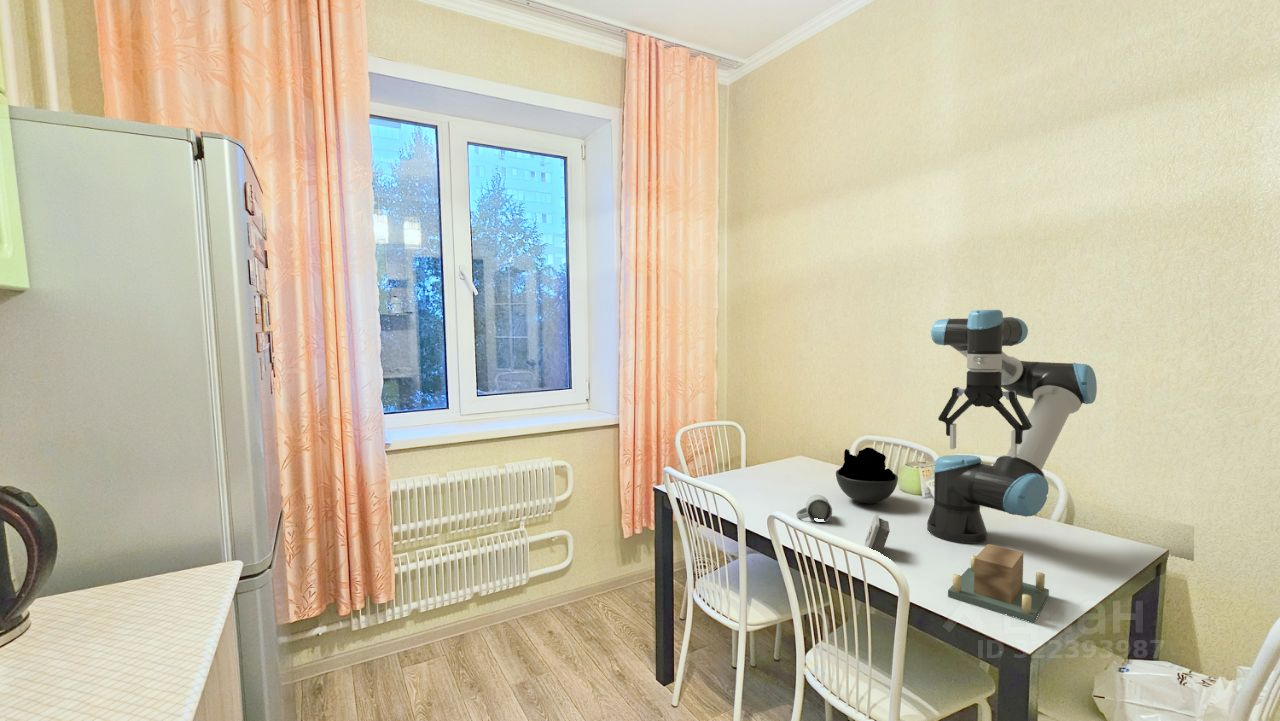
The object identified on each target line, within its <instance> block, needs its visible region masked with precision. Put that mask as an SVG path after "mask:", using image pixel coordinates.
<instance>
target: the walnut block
mask: <svg viewBox="0 0 1280 721" xmlns="http://www.w3.org/2000/svg"><path fill="white" fill-rule="evenodd" d="M975 556H976V557H975V565H974V593H976V594H979V595H983V596H986V597H989V598H993V599H996V600H999V601H1003V602H1006V603H1009V604H1011V603H1012V602H1013V600H1014V599H1015V597H1016V596H1017V594H1018V593H1019V591H1020V590H1021V588H1022V587H1023V582H1024V581H1023V580H1024V579H1023V578H1024V552H1023V551H1019V550H1015V549H1011V548H1007V547H1002V546H999V545H994V544H990V543H987V544H986V545H985V546H984V548H983V549H982V550H981V551H980V552H979V553H978V554H977V555H975Z"/></svg>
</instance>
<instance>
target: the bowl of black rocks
mask: <svg viewBox="0 0 1280 721" xmlns="http://www.w3.org/2000/svg"><path fill="white" fill-rule="evenodd" d="M843 454H844V455H843V465H842V466H841V467H840V468H839V469H837V470H836V471H835V477H836V481H837V483H838V486H839V487H840V490H842V492H843V493H844V494H845V495H846V496H847V497H848V498H850V499H851V500H853V501H855V502H857V503H861V504H865V503H866V504H867V505H868V504H869V505H870V504H871V505H872V504H873V505H874V504H878V503H882V501H885V500H886V499H889V497H890V496H891V495H893V493H894V492H895V489H897V485H898V482H899V477H898V475H897V474H896V473H894V471H892V469H890V468H886V460H887V457H886V455H885V453H882V452H879V451H877V450H875V448H873V447H865V448H863V449H860V450H858V453H857V454H856V455H853V454H852V453H851V452H850V450H849V449H848V448H845V450H844V452H843ZM866 504H865V505H866Z"/></svg>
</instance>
